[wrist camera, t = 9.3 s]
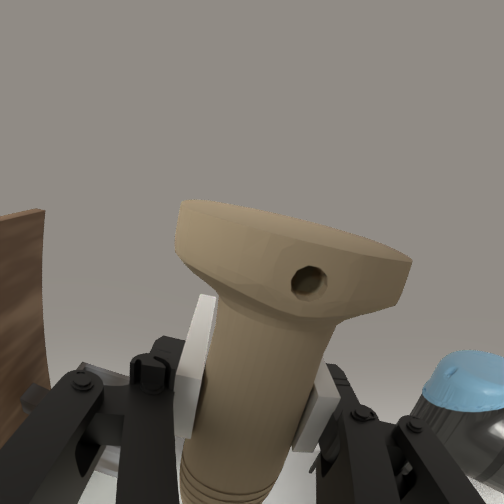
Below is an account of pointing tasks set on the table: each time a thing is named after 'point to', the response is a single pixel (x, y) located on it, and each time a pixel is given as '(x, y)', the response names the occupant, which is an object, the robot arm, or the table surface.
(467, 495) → the robot arm
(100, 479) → the table surface
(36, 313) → the bracket
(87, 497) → the table surface
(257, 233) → the handle
